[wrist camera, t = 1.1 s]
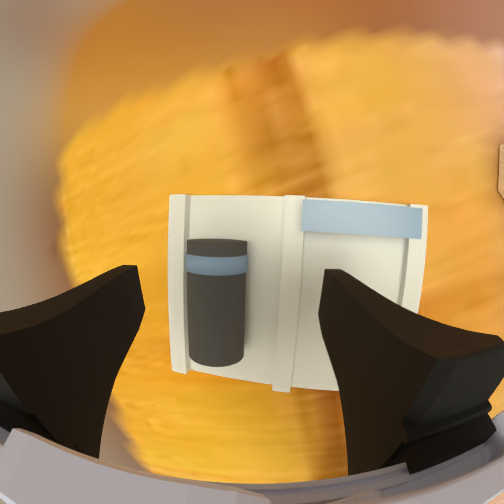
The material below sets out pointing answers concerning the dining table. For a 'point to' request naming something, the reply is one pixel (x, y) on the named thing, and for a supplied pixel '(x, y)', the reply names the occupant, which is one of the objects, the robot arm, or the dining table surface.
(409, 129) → the dining table surface
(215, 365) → the banded tin can
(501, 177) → the jar
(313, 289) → the cream cylinder cradle
